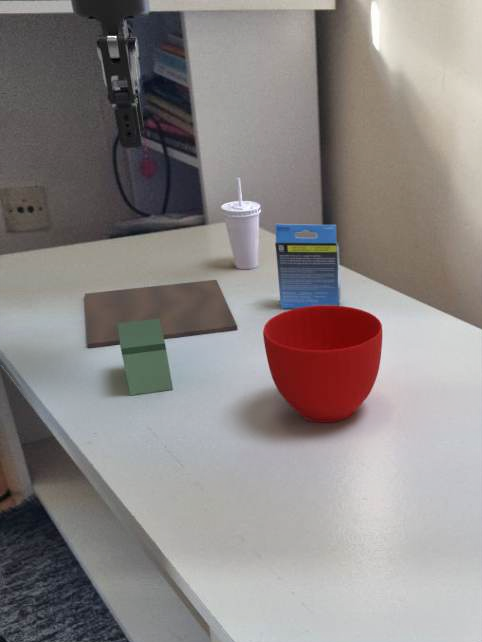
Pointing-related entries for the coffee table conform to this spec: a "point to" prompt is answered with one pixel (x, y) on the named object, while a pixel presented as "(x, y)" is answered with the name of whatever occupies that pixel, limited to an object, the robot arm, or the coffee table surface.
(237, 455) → the coffee table surface
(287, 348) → the ceramic cup
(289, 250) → the label tape box
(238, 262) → the smoothie
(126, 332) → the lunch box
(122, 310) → the walnut board
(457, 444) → the coffee table surface
